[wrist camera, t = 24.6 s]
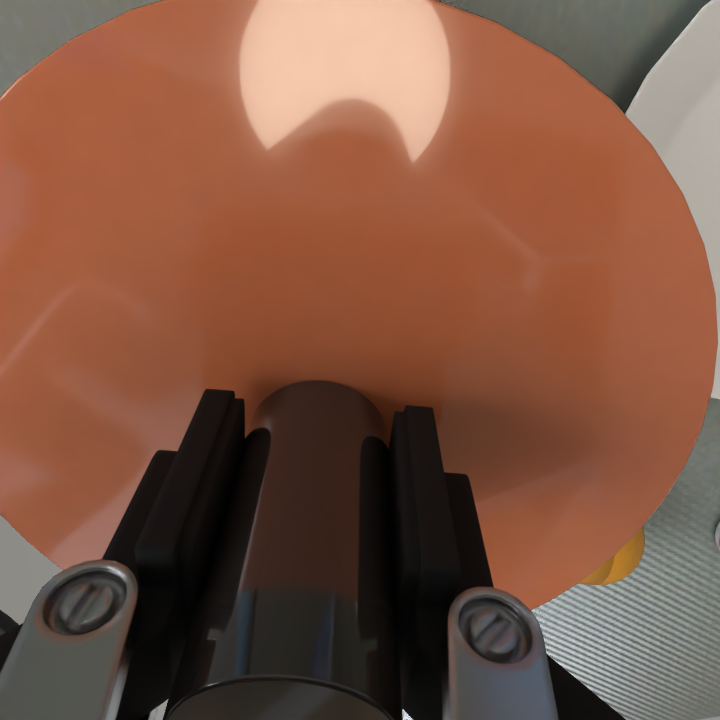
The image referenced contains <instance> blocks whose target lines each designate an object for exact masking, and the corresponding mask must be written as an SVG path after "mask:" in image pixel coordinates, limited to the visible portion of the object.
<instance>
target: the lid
mask: <svg viewBox="0 0 720 720" xmlns="http://www.w3.org/2000/svg"><path fill="white" fill-rule="evenodd" d="M717 348H718V330H717V311H716V294H715V289H714V285H713V280H712V276H711V272H710V267H709V263H708V258H707V254H706V249H705V245H704V242H703V240H702V237H701V235H700V232H699V230H698V228H697V225H696V223H695V220H694V218H693V216H692V213H691V211H690V208H689V206H688V204H687V201H686V199H685V196H684V194H683V192H682V191H681V189H680V188H679V186H678V184H677V183H676V181H675V180H674V178H673V177H672V175H671V173H670V172H669V170H668V169H667V167H666V166H665V164H664V162H663V161H662V159H661V158H660V156H659V155H658V153H657V151H656V150H655V148H654V147H653V145H652V144H651V143H650V142H649V140H648V139H647V138H646V137H645V136H644V135H643V134H642V133H641V132H640V131H639V129H638V128H637V127H636V126H635V125H634V124H633V123H632V122H631V121H630V119H629V118H628V117H627V116H626V115H625V114H624V113H623V112H622V111H621V109H620V108H619V107H618V106H617V105H616V104H615V103H614V102H613V101H612V100H611V98H610V97H608V96H607V95H606V94H605V93H603V92H602V91H601V90H599V89H598V88H597V87H596V86H594V85H593V84H592V83H591V82H589V81H588V80H587V79H586V78H584V77H583V76H582V75H581V74H579V73H578V72H577V71H575V70H574V69H573V68H572V67H570V66H569V65H568V64H567V63H565V62H564V61H563V60H562V59H560V58H559V57H558V56H556V55H554V54H553V53H551V52H549V51H547V50H545V49H544V48H542V47H540V46H538V45H536V44H535V43H533V42H531V41H529V40H528V39H526V38H524V37H522V36H520V35H519V34H517V33H515V32H513V31H511V30H510V29H508V28H506V27H504V26H502V25H501V24H499V23H497V22H495V21H492V20H490V19H487V18H484V17H481V16H479V15H476V14H473V13H470V12H468V11H465V10H462V9H459V8H457V7H454V6H451V5H448V4H446V3H443V2H440V1H437V0H161V1H158V2H154V3H151V4H148V5H144V6H141V7H138V8H134V9H131V10H129V11H127V12H125V13H123V14H121V15H119V16H117V17H115V18H113V19H111V20H109V21H107V22H105V23H103V24H101V25H99V26H97V27H95V28H93V29H91V30H89V31H87V32H85V33H83V34H81V35H78V36H76V37H74V38H72V39H70V40H69V41H68V42H66V43H65V44H63V45H62V46H61V47H59V48H58V49H57V50H55V51H54V52H53V53H51V54H50V55H49V56H47V57H46V58H44V59H43V60H42V61H40V62H39V63H38V64H36V65H35V66H34V67H32V68H31V69H29V70H28V71H27V72H25V73H24V74H23V75H21V76H20V77H19V78H17V79H16V81H15V82H14V83H13V84H12V85H11V86H10V87H9V88H8V89H7V90H6V91H5V92H4V93H3V94H2V95H1V96H0V515H1V516H2V517H3V518H4V519H5V520H6V521H7V522H8V523H9V524H10V525H11V526H12V527H13V528H15V530H16V531H17V532H18V533H19V534H20V535H21V536H22V537H23V538H24V539H25V540H26V541H27V542H29V543H30V544H31V545H32V546H33V547H35V548H36V549H37V550H38V551H40V552H41V553H42V554H43V555H44V556H46V557H47V558H48V559H50V560H51V561H52V562H53V563H54V564H56V565H57V566H58V567H60V568H61V569H63V570H65V569H67V568H68V567H70V566H73V565H76V564H79V563H82V562H84V561H91V560H98V559H102V558H103V556H104V554H105V552H106V550H107V547H108V545H109V543H110V541H111V539H112V537H113V535H114V533H115V531H116V529H117V527H118V525H119V523H120V521H121V519H122V517H123V515H124V513H125V511H126V509H127V507H128V505H129V503H130V501H131V499H132V497H133V495H134V493H135V491H136V489H137V487H138V485H139V483H140V481H141V479H142V477H143V475H144V473H145V471H146V469H147V467H148V465H149V463H150V461H151V459H152V457H153V456H154V454H155V453H156V452H157V451H158V450H169V451H178V449H179V447H180V444H181V442H182V440H183V438H184V435H185V433H186V431H187V429H188V426H189V424H190V422H191V420H192V418H193V415H194V413H195V411H196V409H197V406H198V404H199V402H200V400H201V397H202V395H203V393H204V391H205V389H219V390H231V391H234V392H235V398H242V399H244V403H245V442H244V445H243V449H242V452H241V455H240V459H239V462H238V466H237V469H236V472H235V476H234V479H233V483H232V486H231V489H230V493H229V496H228V500H227V503H226V506H225V510H224V513H223V517H222V520H221V523H220V527H219V530H218V533H217V537H216V540H215V544H214V547H213V550H212V554H211V557H210V561H209V564H208V567H207V571H206V574H205V578H204V581H203V584H202V588H201V591H200V594H199V598H198V601H197V605H196V608H195V611H194V615H193V618H192V622H191V625H190V628H189V632H188V635H187V639H186V642H185V645H184V649H183V652H182V656H181V659H180V662H179V666H178V669H177V672H176V676H175V679H174V683H173V686H172V689H171V693H170V696H169V700H168V703H167V706H166V710H165V713H164V717H163V720H403V713H402V694H401V675H400V656H399V636H398V621H397V606H396V587H395V567H394V548H393V528H392V509H391V489H390V470H389V450H388V449H389V443H390V437H391V430H392V424H393V418H394V413H395V411H398V412H404V408H405V406H406V405H410V406H422V407H432V408H433V411H434V416H435V422H436V428H437V434H438V440H439V445H440V451H441V457H442V463H443V469H444V472H448V473H460V474H466V475H467V476H468V477H469V480H470V484H471V488H472V493H473V497H474V502H475V506H476V510H477V515H478V519H479V524H480V528H481V533H482V537H483V541H484V546H485V550H486V555H487V559H488V564H489V568H490V572H491V577H492V581H493V586H494V588H497V589H500V590H504V591H506V592H508V593H510V594H511V595H513V596H515V597H517V598H518V599H519V600H520V601H522V602H523V603H524V604H525V605H526V606H527V607H528V608H529V609H530V610H533V609H535V608H537V607H539V606H541V605H543V604H545V603H547V602H549V601H550V600H552V599H554V598H555V597H557V596H558V595H560V594H562V593H563V592H565V591H566V590H568V589H570V588H571V587H573V586H574V585H576V584H578V583H579V582H581V581H582V580H584V579H585V578H586V577H587V576H589V575H590V574H591V573H593V572H594V571H595V570H596V569H598V568H599V567H600V566H602V565H603V564H604V563H605V562H607V561H608V560H609V559H611V558H612V557H613V556H614V555H615V554H616V553H617V552H618V551H619V550H620V549H621V548H622V547H623V546H624V545H625V544H626V543H627V542H628V541H629V540H630V539H631V538H632V537H633V536H634V535H635V534H636V533H637V532H638V531H639V530H640V529H641V528H642V527H643V525H644V524H645V523H646V522H647V521H648V519H649V518H650V517H651V516H652V514H653V513H654V512H655V511H656V509H657V508H658V507H659V506H660V504H661V503H662V502H663V501H664V499H665V498H666V496H667V494H668V493H669V491H670V490H671V488H672V486H673V485H674V483H675V481H676V480H677V478H678V477H679V475H680V473H681V472H682V470H683V469H684V467H685V465H686V463H687V460H688V458H689V456H690V454H691V451H692V449H693V447H694V445H695V442H696V440H697V438H698V436H699V433H700V431H701V429H702V425H703V422H704V418H705V414H706V411H707V407H708V404H709V400H710V396H711V393H712V389H713V383H714V374H715V366H716V357H717Z"/></svg>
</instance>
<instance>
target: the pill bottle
mask: <svg viewBox="0 0 720 720" xmlns="http://www.w3.org/2000/svg"><path fill="white" fill-rule="evenodd" d="M715 541H716V544H717V546H718V548H719V550H720V522H719V524H718V526H717V528H716V532H715Z"/></svg>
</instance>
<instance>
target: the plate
mask: <svg viewBox="0 0 720 720" xmlns="http://www.w3.org/2000/svg"><path fill="white" fill-rule="evenodd" d="M625 115H626V116H627V117H628V118H629V119H630V121H631V122H632V123H633V124H634V125H635V126H636V127H637V128H638V129H639V131H640V132H641V133H642V134H643V135H644V136H645V137H646V138H647V139H648V140H649V142H650V143H651V144H652V145H653V147H654V148H655V150H656V151H657V153H658V155H659V156H660V158H661V159H662V161H663V162H664V164H665V166H666V167H667V169H668V170H669V172H670V173H671V175H672V177H673V178H674V180H675V181H676V183H677V184H678V186H679V188H680V189H681V191H682V192H683V194H684V196H685V199H686V201H687V204H688V206H689V208H690V211H691V213H692V216H693V218H694V220H695V223H696V225H697V228H698V230H699V232H700V235H701V237H702V240H703V242H704V245H705V249H706V254H707V258H708V263H709V267H710V272H711V276H712V280H713V285H714V289H715V294H716V311H717V330H718V348H717V357H716V366H715V374H714V383H713V389H712V393H711V396H710V397H712V398H717V399H720V0H711V1H710V2H708V3H707V4H706V5H705V6H704V7H702V8H701V10H700V11H699V12H698V13H697V14H696V16H695V17H694V18H693V19H692V20H691V22H690V23H689V24H688V25H687V27H686V28H685V29H684V30H683V31H682V33H681V34H680V35H679V36H678V37H677V39H676V40H675V41H674V42H673V43H672V45H671V46H670V47H669V48H668V50H667V51H666V52H665V53H664V54H663V56H662V57H661V58H660V59H659V60H658V62H657V63H656V64H655V65H654V66H653V68H652V69H651V70H650V71H649V73H648V74H647V75H646V77H645V79H644V81H643V83H642V84H641V86H640V88H639V90H638V92H637V93H636V95H635V97H634V99H633V101H632V102H631V104H630V106H629V108H628V109H627V111H626V113H625Z"/></svg>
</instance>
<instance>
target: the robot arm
mask: <svg viewBox="0 0 720 720" xmlns="http://www.w3.org/2000/svg"><path fill="white" fill-rule="evenodd" d="M244 442H245V403H244V399H242V398H235V392H234V391H231V390H219V389H205V391H204V393H203V395H202V397H201V400H200V402H199V404H198V406H197V409H196V411H195V413H194V415H193V418H192V420H191V422H190V424H189V426H188V429H187V431H186V433H185V435H184V438H183V440H182V442H181V444H180V447H179V449H178V451H169V450H158V451H157V452H156V453H155V454H154V456H153V457H152V459H151V461H150V463H149V465H148V467H147V469H146V471H145V473H144V475H143V477H142V479H141V481H140V483H139V485H138V487H137V489H136V491H135V493H134V495H133V497H132V499H131V501H130V503H129V505H128V507H127V509H126V511H125V513H124V515H123V517H122V519H121V521H120V523H119V525H118V527H117V529H116V531H115V533H114V535H113V537H112V539H111V541H110V543H109V545H108V547H107V550H106V552H105V554H104V556H103V558H102V559H98V560H91V561H84V562H82V563H79V564H76V565H73V566H70V567H68V568H67V569H65V570H63V571H62V572H60V573H58V574H57V575H55V576H54V577H53V578H52V579H51V580H50V581H49V582H48V583H47V584H45V585H44V586H43V587H42V589H41V590H40V592H39V593H38V595H37V596H36V598H35V600H34V601H33V603H32V605H31V608H30V610H29V612H28V614H27V616H26V619H25V621H24V623H23V624H21V625H19V626H17V627H15V628H14V629H12V630H10V631H8V632H6V633H4V634H3V635H1V636H0V720H156V715H157V707H158V706H159V705H160V704H162V703H163V702H165V701H166V700H167V699H169V696H170V693H171V689H172V686H173V683H174V679H175V676H176V672H177V669H178V666H179V662H180V659H181V656H182V652H183V649H184V645H185V642H186V639H187V635H188V632H189V628H190V625H191V622H192V618H193V615H194V611H195V608H196V605H197V601H198V598H199V594H200V591H201V588H202V584H203V581H204V578H205V574H206V571H207V567H208V564H209V561H210V557H211V554H212V550H213V547H214V544H215V540H216V537H217V533H218V530H219V527H220V523H221V520H222V517H223V513H224V510H225V506H226V503H227V500H228V496H229V493H230V489H231V486H232V483H233V479H234V476H235V472H236V469H237V466H238V462H239V459H240V455H241V452H242V449H243V445H244ZM388 450H389V470H390V489H391V509H392V528H393V548H394V567H395V587H396V606H397V621H398V636H399V656H400V675H401V694H402V708H403V709H404V710H405V711H406V712H407V714H408V715H409V716H410V717H411V718H412V719H413V720H626V719H625V718H623V717H622V716H621V715H620V714H618V713H617V712H616V711H615V710H614V709H612V708H611V707H610V706H609V705H608V704H606V703H605V702H604V701H603V700H602V699H600V698H599V697H598V696H597V695H595V694H594V693H593V692H592V691H591V690H589V689H588V688H587V687H586V686H585V685H583V684H582V683H581V682H580V681H578V680H577V679H576V678H575V677H574V676H572V675H571V674H570V673H569V672H568V671H566V670H565V669H564V668H563V667H562V666H560V665H559V664H558V663H557V662H555V661H554V660H553V659H552V658H551V657H549V656H548V655H547V654H546V649H545V643H544V638H543V634H542V631H541V628H540V625H539V622H538V620H537V619H536V617H535V616H534V615H533V613H532V612H531V610H530V609H529V608H528V607H527V606H526V605H525V604H524V603H523V602H522V601H520V600H519V599H518V598H517V597H515V596H513V595H511V594H510V593H508V592H506V591H504V590H500V589H497V588H494V586H493V581H492V577H491V572H490V568H489V564H488V559H487V555H486V550H485V546H484V541H483V537H482V533H481V528H480V524H479V519H478V515H477V510H476V506H475V502H474V497H473V493H472V488H471V484H470V480H469V477H468V476H467V475H466V474H460V473H448V472H444V469H443V463H442V457H441V451H440V445H439V440H438V434H437V428H436V422H435V416H434V411H433V408H432V407H422V406H410V405H406V406H405V408H404V412H398V411H395V413H394V418H393V424H392V430H391V437H390V443H389V449H388Z"/></svg>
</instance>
